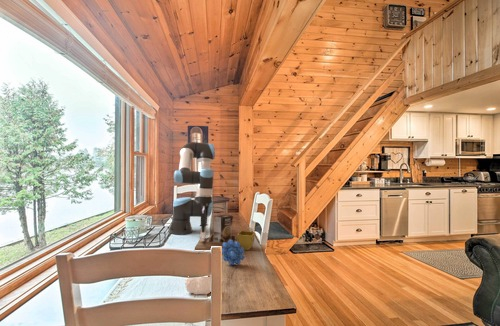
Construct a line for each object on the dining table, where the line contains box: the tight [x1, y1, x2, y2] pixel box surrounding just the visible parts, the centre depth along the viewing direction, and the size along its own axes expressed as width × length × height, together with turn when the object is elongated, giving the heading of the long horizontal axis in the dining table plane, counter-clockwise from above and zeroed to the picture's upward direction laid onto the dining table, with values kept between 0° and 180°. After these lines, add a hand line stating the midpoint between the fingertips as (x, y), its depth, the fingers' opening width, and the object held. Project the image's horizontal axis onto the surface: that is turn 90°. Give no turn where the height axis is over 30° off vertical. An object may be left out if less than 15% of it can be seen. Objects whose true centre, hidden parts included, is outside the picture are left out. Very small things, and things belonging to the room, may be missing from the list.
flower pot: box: [236, 230, 256, 251], centre depth 141 cm, size 9×9×9 cm
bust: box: [185, 277, 210, 296], centre depth 91 cm, size 12×8×11 cm
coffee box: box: [213, 214, 234, 243], centre depth 141 cm, size 9×6×16 cm
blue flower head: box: [221, 239, 246, 266], centre depth 115 cm, size 12×7×12 cm, turn 95°
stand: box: [194, 233, 238, 251], centre depth 141 cm, size 16×22×5 cm
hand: (202, 237), depth 139 cm, fingers closed
